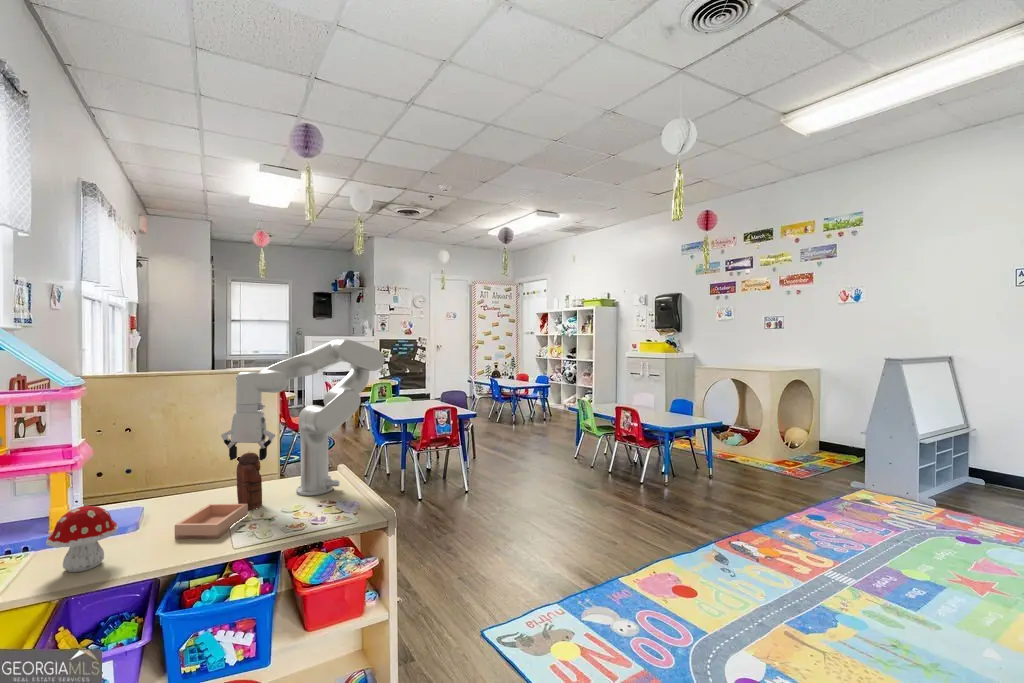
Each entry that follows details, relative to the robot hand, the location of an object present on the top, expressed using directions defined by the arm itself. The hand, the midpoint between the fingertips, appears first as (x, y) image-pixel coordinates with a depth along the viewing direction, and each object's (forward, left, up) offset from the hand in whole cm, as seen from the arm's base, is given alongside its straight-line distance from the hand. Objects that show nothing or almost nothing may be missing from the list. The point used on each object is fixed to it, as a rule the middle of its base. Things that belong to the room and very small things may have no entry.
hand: (247, 459), depth 166 cm
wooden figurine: (0, 0, -16) cm, 16 cm away
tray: (+2, +18, -16) cm, 24 cm away
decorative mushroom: (+20, +42, -16) cm, 49 cm away
